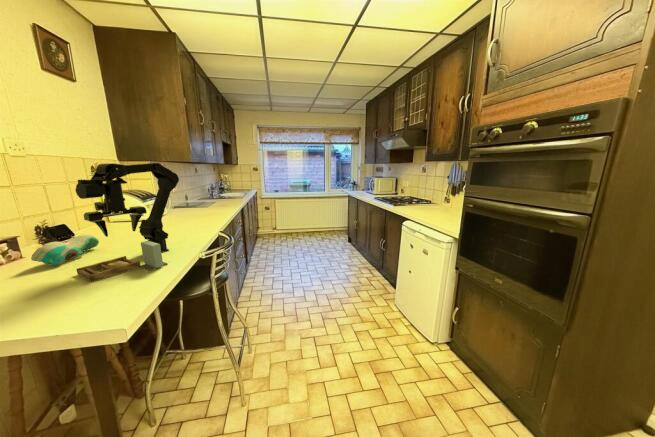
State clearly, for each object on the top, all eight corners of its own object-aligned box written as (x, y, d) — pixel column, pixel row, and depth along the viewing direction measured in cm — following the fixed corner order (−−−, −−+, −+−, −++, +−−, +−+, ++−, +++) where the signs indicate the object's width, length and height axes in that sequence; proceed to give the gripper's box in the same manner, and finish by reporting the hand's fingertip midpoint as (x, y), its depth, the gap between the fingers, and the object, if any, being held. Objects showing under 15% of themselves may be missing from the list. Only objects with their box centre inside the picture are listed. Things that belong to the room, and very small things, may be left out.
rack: (126, 261, 105) (125, 256, 105) (140, 267, 99) (139, 261, 99) (77, 274, 92) (76, 268, 92) (90, 282, 86) (89, 275, 86)
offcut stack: (123, 263, 103) (122, 259, 102) (132, 267, 99) (132, 263, 98) (107, 268, 98) (106, 263, 98) (116, 272, 94) (116, 268, 94)
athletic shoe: (46, 273, 96) (67, 247, 98) (22, 260, 95) (44, 234, 97) (95, 263, 122) (111, 242, 124) (77, 252, 121) (94, 232, 123)
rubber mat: (158, 261, 105) (158, 260, 105) (167, 264, 101) (167, 263, 101) (139, 267, 99) (139, 265, 99) (148, 270, 95) (148, 269, 95)
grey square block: (151, 261, 103) (147, 240, 102) (163, 265, 99) (160, 244, 97) (144, 263, 101) (140, 242, 99) (156, 267, 97) (152, 245, 95)
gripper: (131, 192, 110) (137, 226, 113) (74, 197, 94) (82, 236, 97) (144, 193, 104) (150, 229, 108) (85, 198, 89) (94, 240, 92)
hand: (120, 233), depth 101 cm, fingers open, 9 cm apart
